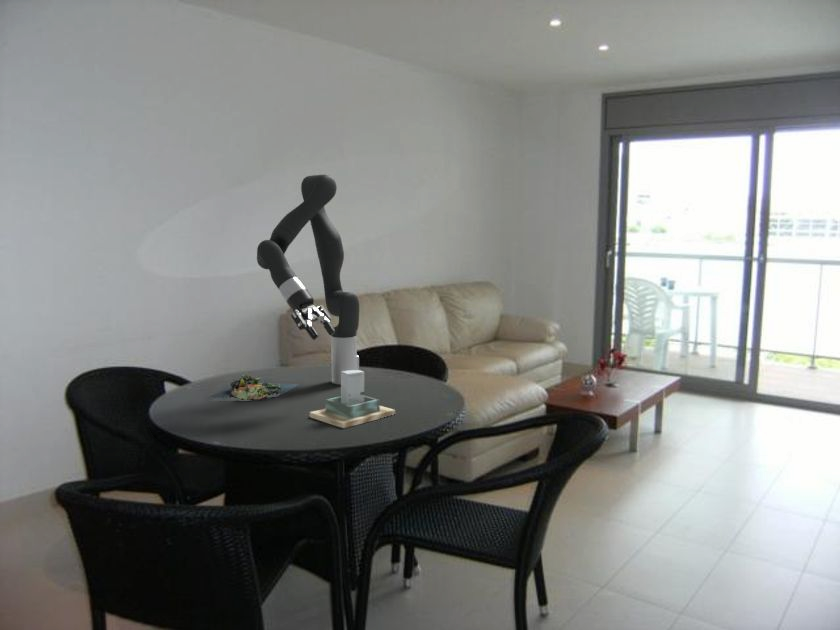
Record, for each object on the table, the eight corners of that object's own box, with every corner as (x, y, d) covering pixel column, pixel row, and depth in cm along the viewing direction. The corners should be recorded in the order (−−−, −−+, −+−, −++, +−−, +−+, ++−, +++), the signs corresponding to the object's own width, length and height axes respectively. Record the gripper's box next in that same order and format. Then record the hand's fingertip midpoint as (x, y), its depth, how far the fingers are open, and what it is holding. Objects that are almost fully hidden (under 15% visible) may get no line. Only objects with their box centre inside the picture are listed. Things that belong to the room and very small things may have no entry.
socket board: (360, 404, 213) (360, 389, 212) (395, 414, 202) (395, 398, 201) (309, 417, 198) (309, 400, 198) (343, 428, 187) (343, 411, 187)
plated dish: (269, 410, 208) (269, 387, 207) (189, 405, 214) (188, 383, 213) (311, 385, 242) (310, 365, 241) (240, 382, 248) (239, 363, 247)
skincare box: (347, 413, 197) (347, 373, 195) (340, 410, 200) (339, 371, 199) (365, 410, 200) (365, 371, 199) (358, 407, 204) (357, 368, 202)
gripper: (288, 290, 201) (317, 332, 198) (317, 285, 213) (345, 325, 210) (274, 305, 204) (303, 347, 201) (303, 299, 217) (331, 339, 214)
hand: (324, 335), depth 206 cm, fingers open, 8 cm apart
